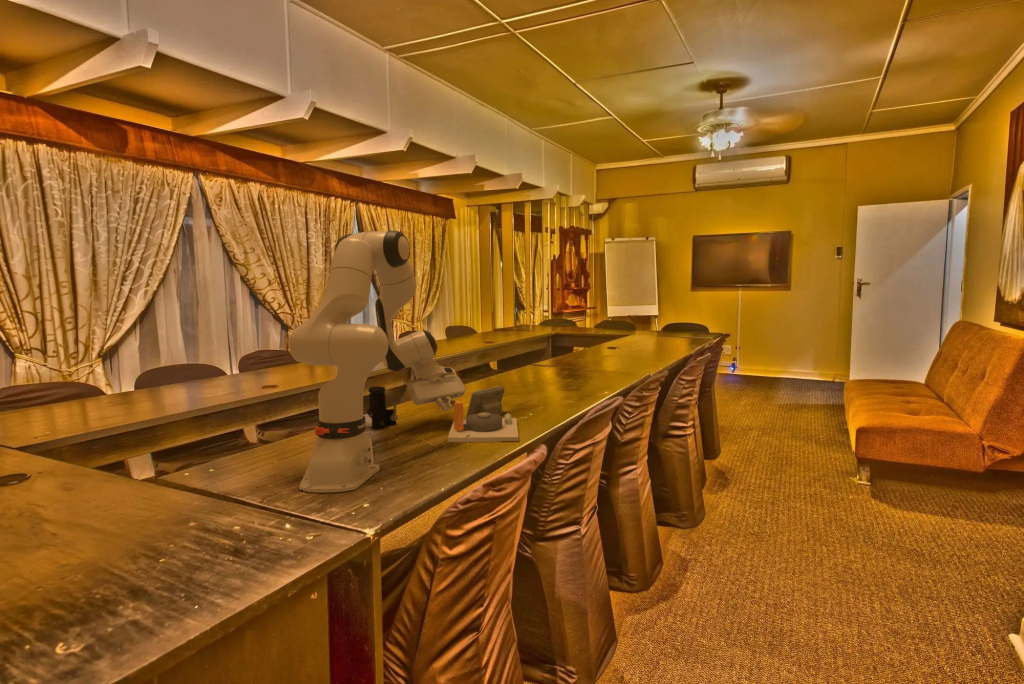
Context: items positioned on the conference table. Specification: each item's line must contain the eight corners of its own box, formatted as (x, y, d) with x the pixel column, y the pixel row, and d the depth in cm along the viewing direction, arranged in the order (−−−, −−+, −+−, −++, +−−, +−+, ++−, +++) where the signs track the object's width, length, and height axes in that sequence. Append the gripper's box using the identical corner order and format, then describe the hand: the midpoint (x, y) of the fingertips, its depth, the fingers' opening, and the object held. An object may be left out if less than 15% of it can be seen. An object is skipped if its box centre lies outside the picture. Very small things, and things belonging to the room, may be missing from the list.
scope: (397, 385, 189) (380, 391, 180) (398, 424, 191) (381, 431, 182) (377, 384, 192) (359, 389, 183) (379, 422, 194) (361, 429, 185)
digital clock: (497, 411, 211) (497, 383, 210) (511, 415, 204) (511, 387, 202) (461, 417, 201) (460, 388, 200) (474, 422, 194) (473, 392, 193)
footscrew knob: (492, 420, 189) (492, 394, 188) (508, 428, 179) (508, 401, 178) (449, 425, 182) (449, 399, 181) (463, 434, 172) (462, 406, 171)
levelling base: (518, 441, 170) (518, 429, 169) (447, 442, 169) (447, 430, 169) (516, 422, 194) (516, 411, 193) (454, 422, 193) (454, 411, 193)
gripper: (408, 375, 180) (425, 409, 174) (457, 368, 194) (475, 399, 188) (401, 386, 183) (418, 420, 177) (450, 378, 197) (467, 409, 191)
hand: (447, 409), depth 183 cm, fingers closed
